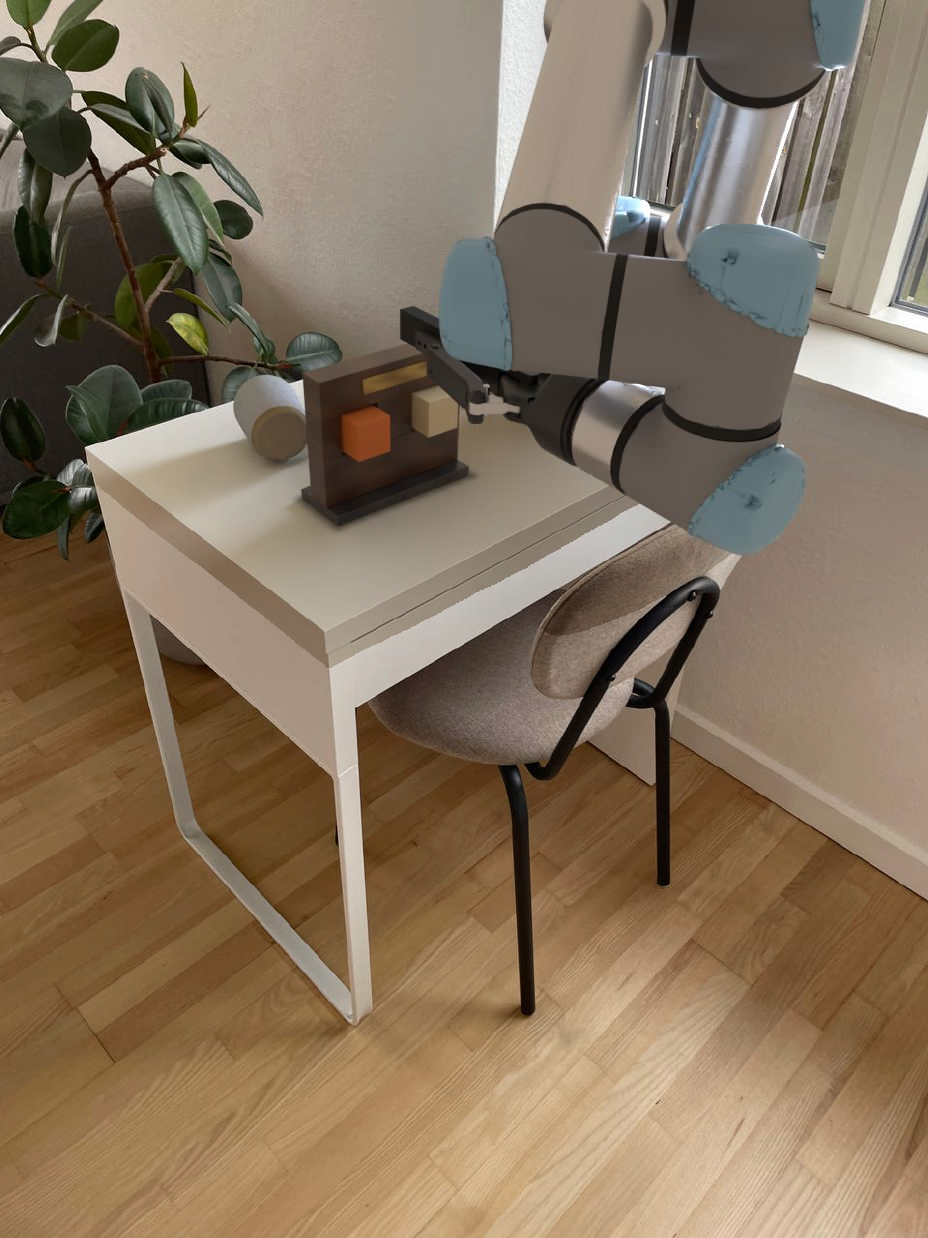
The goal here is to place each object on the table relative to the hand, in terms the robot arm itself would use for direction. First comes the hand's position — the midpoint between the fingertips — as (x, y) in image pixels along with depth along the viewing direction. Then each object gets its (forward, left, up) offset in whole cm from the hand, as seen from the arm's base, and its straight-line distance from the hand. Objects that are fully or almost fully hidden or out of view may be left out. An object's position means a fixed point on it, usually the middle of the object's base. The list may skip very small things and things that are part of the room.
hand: (406, 322), depth 82 cm
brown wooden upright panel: (-5, -9, -23) cm, 25 cm away
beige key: (-9, -7, -16) cm, 19 cm away
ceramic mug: (-1, -24, -23) cm, 33 cm away
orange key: (0, -7, -16) cm, 17 cm away
